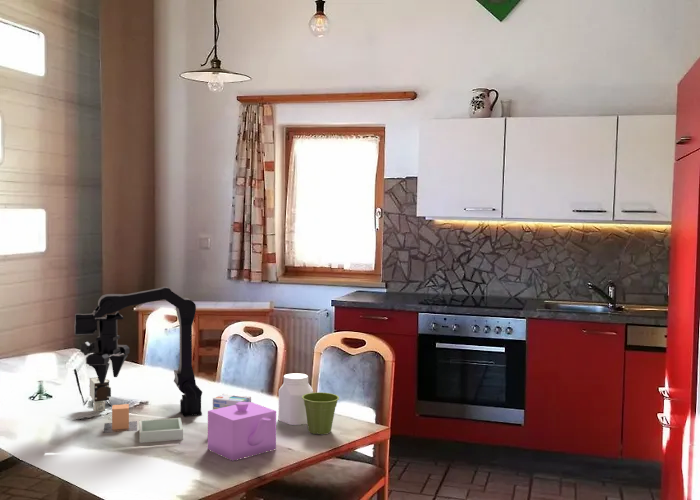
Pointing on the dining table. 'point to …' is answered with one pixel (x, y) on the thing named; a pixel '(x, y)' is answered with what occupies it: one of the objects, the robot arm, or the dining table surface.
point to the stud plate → (109, 429)
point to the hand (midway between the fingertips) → (108, 380)
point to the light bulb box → (228, 400)
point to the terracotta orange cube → (120, 416)
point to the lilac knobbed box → (241, 430)
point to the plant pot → (320, 411)
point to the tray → (160, 430)
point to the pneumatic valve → (99, 393)
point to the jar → (293, 399)
